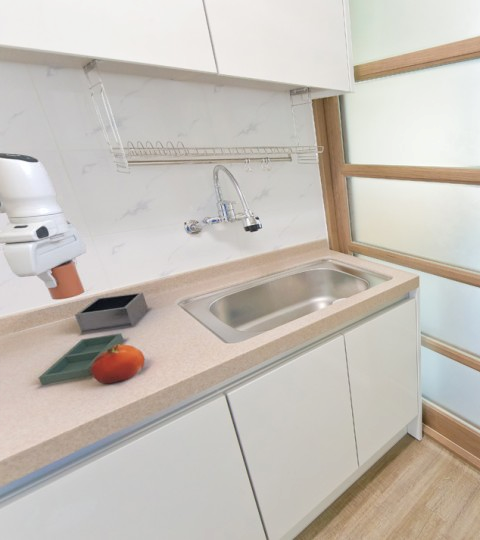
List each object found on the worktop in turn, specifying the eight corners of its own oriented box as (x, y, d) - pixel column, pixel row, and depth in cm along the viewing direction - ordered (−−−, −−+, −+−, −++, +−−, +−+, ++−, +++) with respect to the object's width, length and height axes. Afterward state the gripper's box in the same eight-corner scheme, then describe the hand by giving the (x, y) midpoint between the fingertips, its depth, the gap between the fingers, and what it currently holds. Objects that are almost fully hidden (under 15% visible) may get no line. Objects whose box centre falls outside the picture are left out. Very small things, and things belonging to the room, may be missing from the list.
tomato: (153, 361, 84) (144, 334, 81) (140, 384, 76) (129, 354, 73) (108, 370, 81) (97, 342, 78) (90, 394, 73) (76, 364, 70)
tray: (42, 386, 76) (38, 377, 75) (85, 347, 91) (81, 339, 90) (91, 378, 78) (87, 369, 77) (124, 341, 94) (121, 333, 93)
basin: (82, 334, 98) (74, 314, 96) (104, 316, 109) (97, 298, 107) (132, 327, 102) (126, 307, 99) (148, 309, 113) (142, 292, 111)
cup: (45, 301, 79) (32, 269, 77) (61, 291, 85) (49, 262, 82) (76, 297, 81) (64, 266, 78) (89, 288, 87) (79, 259, 84)
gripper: (54, 219, 86) (73, 269, 90) (-13, 237, 67) (16, 299, 72) (83, 218, 87) (100, 267, 92) (27, 234, 69) (52, 295, 74)
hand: (63, 281), depth 82 cm, fingers closed on cup, 6 cm apart
